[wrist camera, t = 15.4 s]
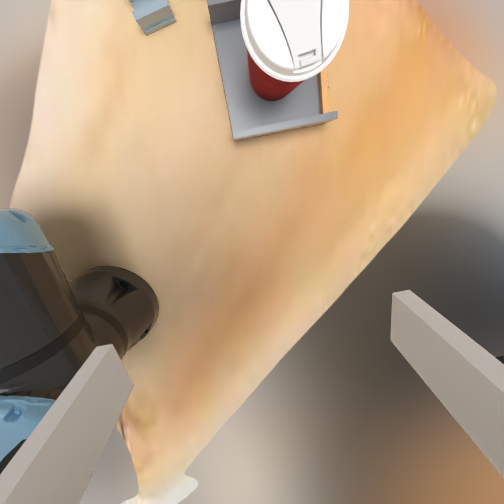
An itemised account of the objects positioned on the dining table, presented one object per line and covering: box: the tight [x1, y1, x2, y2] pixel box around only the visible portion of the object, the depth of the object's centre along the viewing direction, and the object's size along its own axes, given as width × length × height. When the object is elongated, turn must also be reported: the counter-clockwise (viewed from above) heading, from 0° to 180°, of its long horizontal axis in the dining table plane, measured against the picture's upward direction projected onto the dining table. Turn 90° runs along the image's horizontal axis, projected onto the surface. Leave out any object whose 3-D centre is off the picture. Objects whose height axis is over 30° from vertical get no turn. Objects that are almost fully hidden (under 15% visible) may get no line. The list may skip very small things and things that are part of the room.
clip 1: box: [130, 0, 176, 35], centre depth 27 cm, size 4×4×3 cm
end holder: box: [207, 0, 338, 141], centre depth 29 cm, size 13×14×5 cm
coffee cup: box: [240, 0, 349, 101], centre depth 24 cm, size 8×8×15 cm
